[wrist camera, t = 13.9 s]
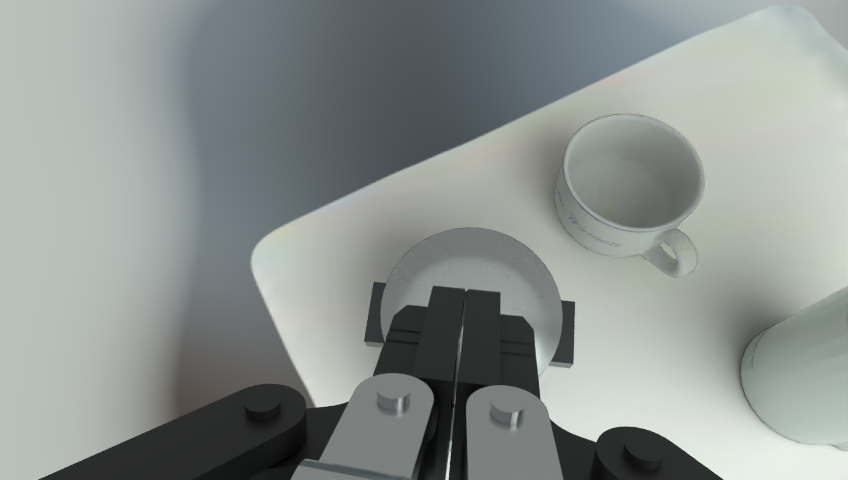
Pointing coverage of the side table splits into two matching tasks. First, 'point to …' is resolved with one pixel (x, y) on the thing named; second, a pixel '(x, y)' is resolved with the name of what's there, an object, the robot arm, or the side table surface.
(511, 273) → the lid
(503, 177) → the side table surface
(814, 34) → the side table surface
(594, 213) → the teacup
